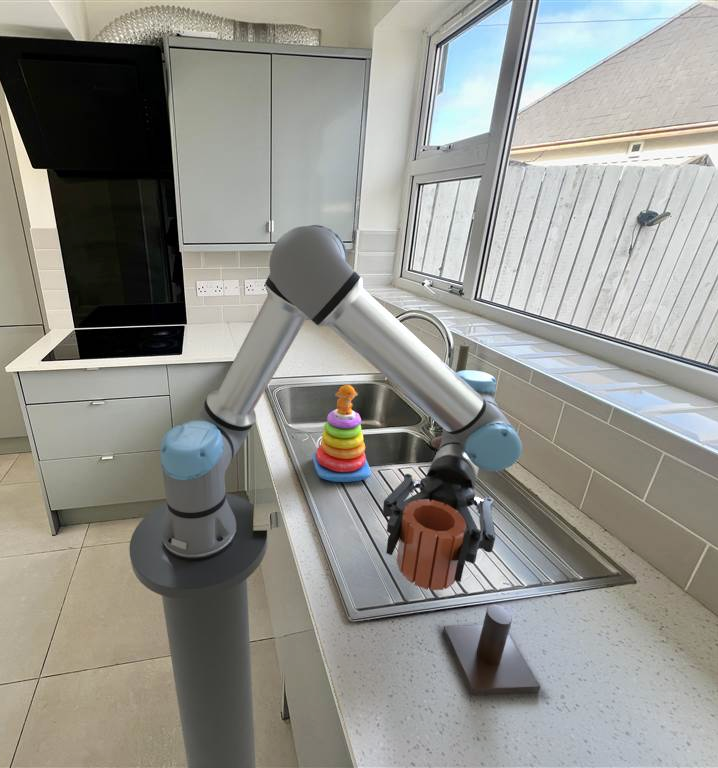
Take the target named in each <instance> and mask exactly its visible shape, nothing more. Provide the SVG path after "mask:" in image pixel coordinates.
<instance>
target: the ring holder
mask: <svg viewBox="0 0 718 768" xmlns="http://www.w3.org/2000/svg"><path fill="white" fill-rule="evenodd" d="M512 622H513V617H512V614H511V612H509V610H508V609H507V608H505V607H503V606H502V605H498V604H489V605H488V607H487V608H486V612H485V616H484V620H483V624H463V625H444V626H443V629H442V632H443V635H444V637H445V639H446V642H447V644H448V646H449V647H450V648H449V649H450V650H451V653H452V655H453V658H454V659H455V662H456V665H457V666H458V668H459V670H460V673H461V675H462V677H463V679H464V682H465V685H466V687H467V688H468V690H469V693H470V695H471V696H478V695H479V696H481V695H507V694H508V695H509V694H532V693H533V694H534V693H539V692H540V689H541V685H540V683H539V682H538V680H537V678H536V677H535V675H534V674H533V672H532V670H531V668H530V666H529V665H528V663H527V662H526V660H525V659H524V657H523V655H522V653H521V652H520V651H519V648H518V647H517V645H516V644H515V642H514V641H513V639H512V638H511V636H510V634H509V632H510V629H511V625H512Z"/></svg>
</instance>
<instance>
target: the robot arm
mask: <svg viewBox="0 0 718 768" xmlns="http://www.w3.org/2000/svg"><path fill="white" fill-rule="evenodd" d="M268 263H269V265H268V266H269V274H268V276H267V278H266V280H265V282H264V287H265V290H266V293H267V296H266V298H265V299H264V302H263V304H262V306H261V308H260V309H259V312H258V313H257V316H256V317H255V319H254V321H253V322H252V325H251V327H250V329H249V331H248V333H247V335H246V337H245V338H244V340H243V342H242V344H241V346H240V348H239V350H238V352H237V354H236V356H235V358H234V360H233V362H232V364H231V365H230V367H229V370H228V371H227V373H226V375H225V377H224V379H223V381H222V383H221V385H220V386H219V389H217V390H213V391H211V392H209V393H208V395H207V397H206V398H205V400H204V403H202V406H201V408H200V410H199V412H198V414H197V415H196V417H195V419H194V420H190V421H186V422H182V424H181V425H180V424H177V425H175V426H173V427H172V428H171V429H169V430H168V431H166V433H165V434H164V436H163V437H162V439H161V442H160V447H159V449H160V455H159V459H160V466H161V469H162V477H163V484H164V492H165V498H166V499H165V500H166V502H167V511H166V515H165V519H164V522H163V526H162V542H163V546H164V548H165V549H166V551H167V552H168V553H169V554H170V555H172V556H174V557H176V558H178V559H181V560H186V561H200V560H205V559H209V558H212V557H214V556H217V555H219V554H220V553H222V552H223V551H225V550H226V549H227V548H228V547H229V546H230V545H231V544H232V543H233V541H234V539H235V537H236V532H237V527H236V520H235V516H234V514H233V512H232V510H231V508H230V506H229V504H228V502H227V500H226V494H225V493H226V479H225V477H226V476H225V475H226V471H227V470H228V468H229V466H230V464H231V463H232V461H233V459H234V458H235V456H236V454H237V452H238V451H239V450H240V448H241V446H242V445H243V443H244V442H245V441H246V439H247V437H248V436H249V433H250V430H251V429H252V427H253V425H254V423H255V422H256V420H257V415H256V411H255V408H256V407H257V406H258V403H259V401H260V400H261V398H262V396H263V394H264V393H265V391H266V390H267V388H268V386H269V384H270V382H271V381H272V378H273V377H274V375H275V373H276V372H277V370H278V369H279V368H280V365H281V364H282V362H283V360H284V358H285V356H286V355H287V353H288V351H289V350H290V348H291V346H292V344H293V342H294V341H295V339H296V337H298V334H299V333H300V330H301V329H302V327H303V325H304V324H305V322H306V320H307V318H308V319H310V320H311V321H312V322H313V324H315V325H316V326H318V327H319V328H320V327H328V328H330V329H331V330H332V331H333V332H334V333H335V334H336V335H338V336H339V338H341V339H342V340H343V341H344V342H345V343H347V344H348V345H349V346H350V347H351V348H352V349H353V350H354V351H356V352H357V353H358V355H360V356H361V357H362V358H363V359H365V360H366V361H367V362H368V363H369V364H370V365H371V366H373V367H374V368H375V369H376V370H377V371H378V372H379V373H380V374H382V376H384V377H385V378H386V379H387V380H388V381H389V382H390V383H392V384H393V385H394V386H395V387H396V388H397V389H398V390H399V391H401V392H402V393H403V394H404V395H405V396H406V397H407V398H409V399H410V401H412V402H413V403H414V404H415V405H416V406H418V407H419V408H420V409H421V410H422V411H423V412H424V413H426V415H427V416H429V417H430V418H431V419H432V420H433V421H434V422H436V424H437V425H439V426H440V427H441V428H442V434H441V436H442V439H441V444H440V447H439V449H438V451H437V450H436V451H437V452H436V454H435V455H434V457H433V460H432V462H431V465H430V467H429V469H428V471H427V473H426V476H425V477H423V478H421V479H420V480H419V479H414V478H413V476H412V474H410V473H405V474H404V477H403V480H402V481H401V483H400V484H398V486H397V487H396V488H395V489H394V490H393V491H391V493H390V494H389V495H388V496H386V497H385V499H384V500H383V507H382V516H383V517H385V518H388V521H387V525H386V533H388V534H389V535H388V537H387V544H386V554H387V555H390V556H392V555H393V553H394V551H395V549H396V547H397V544H398V543H399V540H400V532H401V524H402V516H403V511H404V508H405V506H407V504H408V503H410V502H412V501H414V500H416V501H417V500H420V499H429V500H430V501H431V500H435V501H438V502H442V503H444V506H445V505H449V506H451V507H452V508H454V509H455V510H457V511H458V513H460V514H461V515H462V517H463V518H464V520H465V523H466V528H465V534H464V539H463V543H462V546H461V550H460V555H459V559H458V563H457V568H456V573H455V578H454V580H455V582H459V583H461V582H462V576H463V572H464V567H465V564H466V562H468V563H470V564H474V563H476V560H477V554H478V551H479V549H482V550H483V551H484V552H486V553H492V552H493V549H494V546H495V541H496V530H495V525H494V518H493V514H492V513H493V511H492V509H493V505H494V502H495V501H494V499H493V498H492V497H490V496H486V497H484V499H483V498H480V497H478V496H476V493H475V492H474V490H475V486H476V482H477V477H478V473H479V470H480V469H481V470H483V471H484V470H485V471H488V472H499V471H503V470H506V469H509V468H510V467H512V466H513V465H515V464H516V463H517V462H518V460H520V457H521V455H522V452H523V443H522V441H521V438H520V437H519V433H518V431H517V429H516V428H515V427H514V426H513V425H512V424H511V423H510V421H509V420H508V419H507V417H506V416H505V415H504V413H503V411H502V409H501V408H500V406H499V405H498V404H497V402H496V400H495V396H496V394H497V379H496V377H494V376H493V375H492V374H489V373H488V372H484V371H480V370H472V369H471V370H470V369H466V370H464V371H459V372H456V371H454V370H453V369H452V368H451V367H450V366H449V365H447V363H445V362H444V361H443V360H442V359H441V358H440V357H439V356H437V354H435V353H434V352H433V351H432V350H431V348H429V347H427V346H426V344H424V343H423V342H422V341H421V340H420V339H419V338H418V337H417V336H416V335H414V334H413V333H412V332H411V331H410V330H409V329H408V328H407V327H406V326H405V325H403V324H402V323H401V322H400V320H398V319H397V318H396V317H395V316H394V315H393V314H391V313H390V312H389V311H388V310H387V309H386V308H385V307H384V306H383V305H382V304H381V303H380V302H378V301H377V300H376V299H375V298H374V297H373V296H372V295H371V294H370V293H368V292H367V291H366V290H365V289H364V286H363V285H364V284H363V278H362V276H361V275H360V274H358V273H357V272H356V271H355V270H354V268H352V267H351V265H350V264H349V263H348V253H347V249H346V246H345V243H344V242H343V240H342V238H340V236H339V235H338V233H335V232H334V231H333V230H332V229H331V228H328V227H326V226H324V225H320V224H319V225H318V224H311V225H304V226H302V225H301V226H297V227H293V228H292V229H289V230H287V231H286V232H285V233H283V235H281V236H280V237H279V238H278V240H277V241H276V242H275V244H274V246H273V247H272V250H271V252H270V257H269V262H268ZM416 489H419V490H420V491H419V492H417V493H416V494H413V495H412V496H410V494H412V493H414V491H415V490H416ZM409 496H410V497H409ZM471 506H475V510H476V513H477V514H478V515H479V516H478V518H479V519H478V521H479V528H478V526H477V524H476V522H475V520H474V518H473V516H472V513H471V511H470V510H469V507H471Z"/></svg>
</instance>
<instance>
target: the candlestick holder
mask: <svg viewBox="0 0 718 768" xmlns="http://www.w3.org/2000/svg"><path fill="white" fill-rule="evenodd" d="M469 351H470V344H468V343H467V344H466V343H465V342H463V343H461V344H460V345H459V350H458V357H457V362H456V369H455V373H456V372H459V371H464V370H467V363H468V357H469ZM441 439H442V435H439V436H436V437H434V438H432V439H431V440H430V446H431V447H432V448H433V449H434V450H436V451H438V449H439V447H440V444H441Z"/></svg>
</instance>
